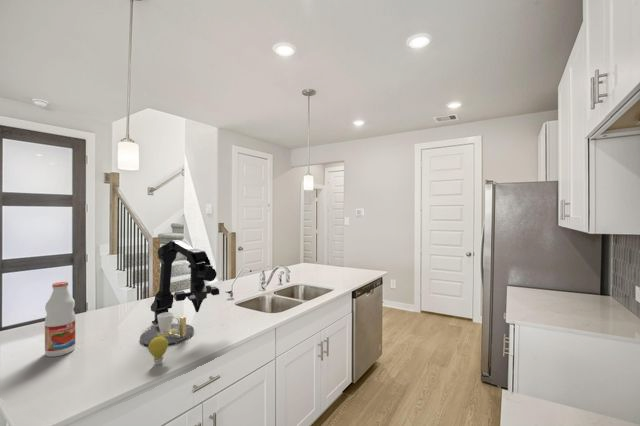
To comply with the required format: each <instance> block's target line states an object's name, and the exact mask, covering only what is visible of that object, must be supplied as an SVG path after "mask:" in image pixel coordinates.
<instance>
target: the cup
mask: <svg viewBox="0 0 640 426" xmlns="http://www.w3.org/2000/svg"><path fill="white" fill-rule="evenodd" d="M157 319H158V324H157V325H158V326H159V329H160V331H161V332H160V333H161V334H166V333H169V332H173V331H174V330H176V329H177V328H178V327H179V325H180V318H178V317H177V316H174V312H171V311H168V312H165V313H161V314H158V316H157ZM173 319H176V321H177V324H178V327H177V328H176V329H174V330H173V331H170V329H171V325H172V324H173Z"/></svg>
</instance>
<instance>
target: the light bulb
mask: <svg viewBox="0 0 640 426" xmlns="http://www.w3.org/2000/svg"><path fill="white" fill-rule="evenodd" d="M147 346H148V348H147V349H148V352H149V354H150V355H151V356H152V357H153V363H154V365H155V366H159V365H162V363H163V360H164V355H165V353H166V351H167V350H168V348H169V344H168V341H167V339H166V338H164V337H161V336H160V337H156V338H154V339H152V340H151V342H150V343H149V345H147Z"/></svg>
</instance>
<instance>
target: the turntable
mask: <svg viewBox="0 0 640 426" xmlns="http://www.w3.org/2000/svg"><path fill="white" fill-rule="evenodd" d="M179 321H180V325H179V327H178V323H172V325H171V329H170V331H173V330H174V329H176V328H177V327H178V328H177V329H176V330H174V331H173V332H169V333H166V334H161V333H160V332H161V331H160V329H159V325H158V326H156V327H155V326H154V327H152V328H149V329H147V330H146V331H144V332H143V333H142V334H140V336H139V341H140V343H141V344H142V345H146V346H149V343H150V342H151V340H152V339H154V338H156V337H160V336H161V337H164V338H166V339H167V341H168V345H173V344H176V343H181V342H182V341H185V340H187V339H189V338H190V337H191V336H193V334H194V333H195V328H194V327H193V326H192V325H190V324H187V316H184V315H182V316H181V317H179Z"/></svg>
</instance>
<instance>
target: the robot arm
mask: <svg viewBox="0 0 640 426" xmlns="http://www.w3.org/2000/svg"><path fill="white" fill-rule="evenodd" d="M179 253H180V255H182V256H184V257H185V258H186V261H187V262H188V263H189V265H188V266H187V268H189V269H190V279H189V280H190V281H189V282H190V285H189V286H190V289H189V290H190V291H188V292H185V291H184V290H181V291H179V290H178V291H175V292H174V293H173V294H172V292H171V279H172V270H173V269H172V267H173V263H174V261H175V260H176V259H177V254H179ZM157 258H158V260H159V262H160V264H161V265H160V276H159V288H158V291H157V293H156V294H155V296H154V301H153V302H152V303H151V305H150V311H151V312H153V313H154V320H151V323H154V324H157V325H158V319H157V316H158V314H161V313H165V312H169V309H172V308H173V304H174V300H175V302H180V301H185V300H186V299H188V300H189V301H190V302H191V303H192V305H193V308H194V311H195V313H199V311H200V308H201V306H202V303H203V301H204V300H206V299H207V298H208V295H209V294H210V295H211V296H219V295H220V289H219V288H218V287H217V286H212V285H211V284H208V285H206V283H205V281H206V282H212V281H214V280H215V279H216V278H217V270H216V269H214V267H213V265H211V260H210V258H209V257H208V255H207V253H206V251H205V250H204V249H198V248H193V247H191V246H190V245H188V244H186V243H185V242H183V241H182V240H180V239H173V240H172V239H171V240H170V241H169V242H168V243H165V244H163V245H161V246H160V247H159V248H158V250H157Z"/></svg>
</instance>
